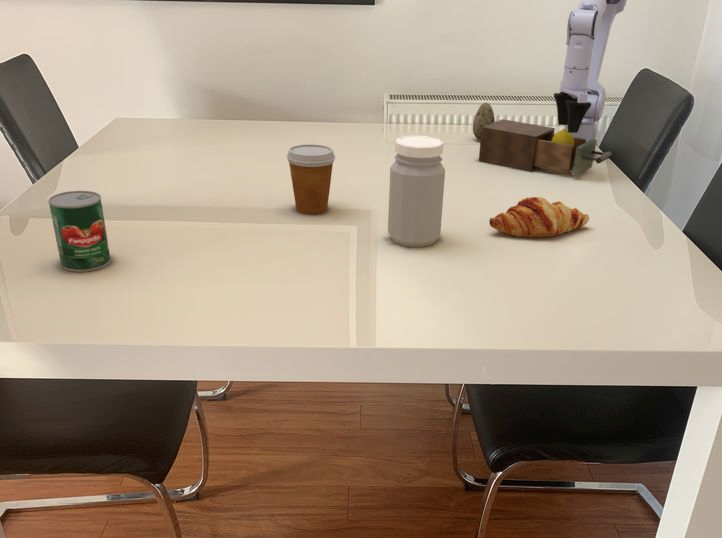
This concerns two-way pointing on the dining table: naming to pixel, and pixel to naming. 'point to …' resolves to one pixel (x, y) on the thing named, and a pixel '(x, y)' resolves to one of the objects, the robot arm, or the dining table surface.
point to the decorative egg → (482, 119)
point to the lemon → (563, 137)
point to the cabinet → (511, 143)
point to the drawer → (567, 155)
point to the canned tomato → (80, 230)
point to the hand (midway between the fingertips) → (567, 128)
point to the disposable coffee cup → (311, 176)
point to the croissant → (538, 218)
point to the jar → (416, 191)
